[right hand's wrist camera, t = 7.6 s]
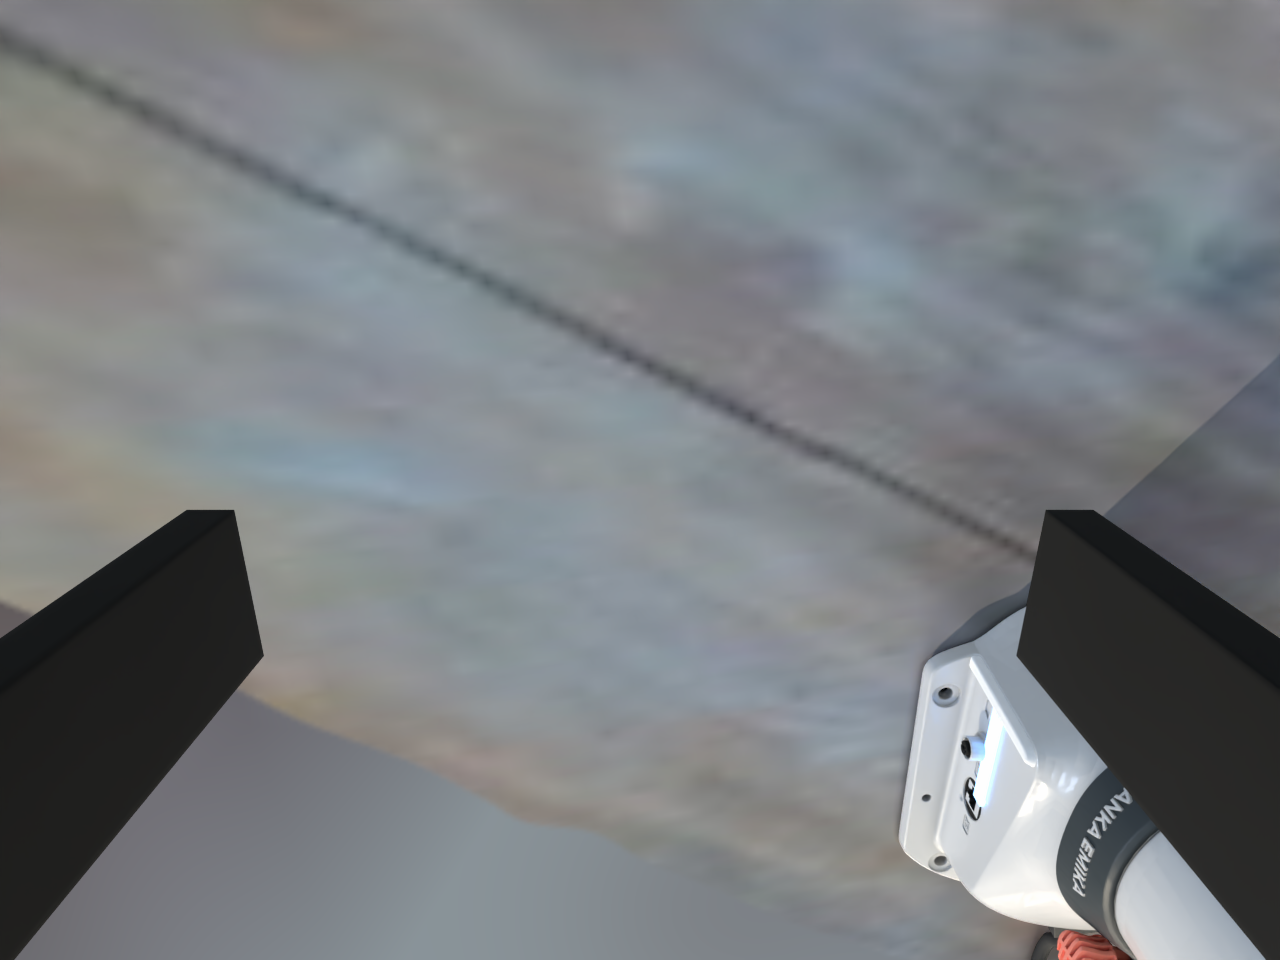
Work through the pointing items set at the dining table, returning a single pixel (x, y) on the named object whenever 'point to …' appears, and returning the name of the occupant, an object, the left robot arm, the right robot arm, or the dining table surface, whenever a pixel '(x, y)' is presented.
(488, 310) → the dining table surface
